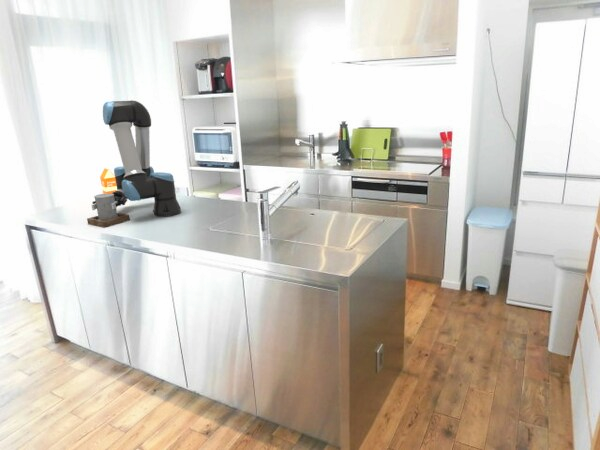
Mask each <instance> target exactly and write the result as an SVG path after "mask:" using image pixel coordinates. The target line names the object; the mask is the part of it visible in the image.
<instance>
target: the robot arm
mask: <svg viewBox="0 0 600 450" xmlns="http://www.w3.org/2000/svg"><path fill="white" fill-rule="evenodd" d="M102 119H103V123H104V124H105V125H106V126H109V129H110V130H112V131H113V134H114V137H115V141H116V144H117V148H118V152H119V155H120V158H121V163H122V166H117V167H114V168H113V173H114V174H113V175H114V176H115V180H116V185H117V190H116V191H115V192H113V193H112V194H114V198H115V202H114V203H112V204H111V205H112V209H115V208H116V209H117V207H120V206H125V205H126V203H127V202H128V200H129V201H131V202H135V201H138V202H139V201H142V200H146V199H152V198H154V203H153V204H154V205H153V210H152V214H153V216H154V217H157V218H158V217H160V218H161V217H162V218H163V217H166V218H167V217H172V216H176V215H179V214H181V213H182V208H181V206H180V203H179V201H178V200H177V196H176V187H175V185H176V184H175V180H174V175H173V174H172V173H169V172H161V171H160V172H156V171H154V168H153V167H152V166H151V165H150V164H151V162H150V161H151V160H150V159H151V156H150V153H151V152H150V150H151V149H150V147H151V146H150V127H151V126H152V118H151V114H150V112H149V111H148V109H147V108H146V106H145V105H144V104H142V103H141V102H140V101H137V100H118V101H117V100H112V101H105V102H104V103H103V106H102ZM132 126H134V130H135V131H134V132H135V136H134V137H135V139H134V137H133V133H132ZM91 203H92V204H91V209H92V211H96V210H97V207H96V201H95V200H94V201H92V202H91Z"/></svg>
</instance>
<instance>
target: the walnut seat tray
mask: <svg viewBox="0 0 600 450" xmlns="http://www.w3.org/2000/svg"><path fill="white" fill-rule="evenodd" d="M117 215H118V217H117V218H113V219H110V220H99V217H98V215H95V216H92V217H89V218H86V219H87V225H91V226H96V227H100V228H103V229H106V228H109V227H111V226H114V225H115V226H116V225H119V224H122V223H125V222H128V221H130V220H131V217H130V214H127V213H121V212H117Z"/></svg>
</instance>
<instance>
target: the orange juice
mask: <svg viewBox="0 0 600 450" xmlns="http://www.w3.org/2000/svg"><path fill="white" fill-rule="evenodd" d="M114 175H115V174H113V173H112V172H111V171H110V170H109V169H108V168H105V167H104V169H103V171H102V172H101V175H100V176H99V178H100V183H101V189H102V194H106V193H113V192H115V191H116V190H117V185H116V180H115V176H114Z"/></svg>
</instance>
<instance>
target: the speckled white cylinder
mask: <svg viewBox="0 0 600 450" xmlns="http://www.w3.org/2000/svg"><path fill="white" fill-rule="evenodd" d="M94 201H96V207H97V209H96V211H97V216H98V217H99V220H110V219H113V218H117V217H118V215H117V213H118V211H117V207H116V208H115V209H112V205H111V204H112V203H114V202H115V198H114V194H112V193H106V194H103V193H101V194H99V193H98V194H96V195H94Z"/></svg>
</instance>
